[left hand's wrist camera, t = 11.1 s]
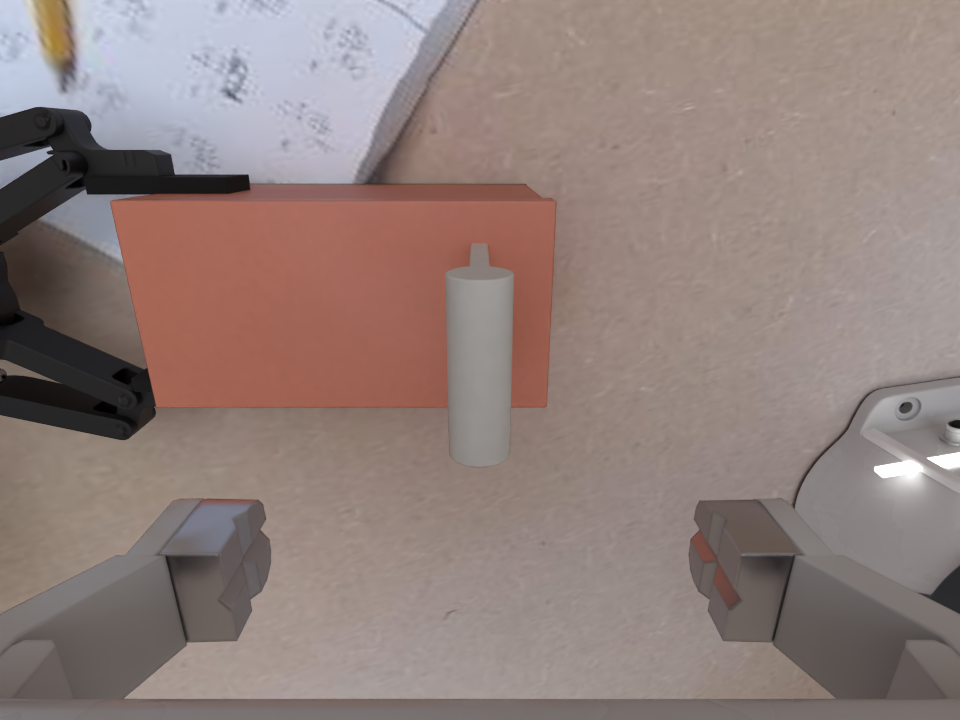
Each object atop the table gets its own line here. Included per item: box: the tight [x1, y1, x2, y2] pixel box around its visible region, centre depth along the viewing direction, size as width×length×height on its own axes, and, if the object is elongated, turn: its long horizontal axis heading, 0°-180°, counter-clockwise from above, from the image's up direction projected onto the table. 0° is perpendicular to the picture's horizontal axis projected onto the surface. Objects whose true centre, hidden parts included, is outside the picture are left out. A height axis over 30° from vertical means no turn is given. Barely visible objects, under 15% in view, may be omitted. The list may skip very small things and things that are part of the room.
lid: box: [110, 198, 556, 467], centre depth 21 cm, size 18×9×9 cm, turn 90°
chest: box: [131, 184, 542, 198], centre depth 30 cm, size 18×9×10 cm, turn 90°
